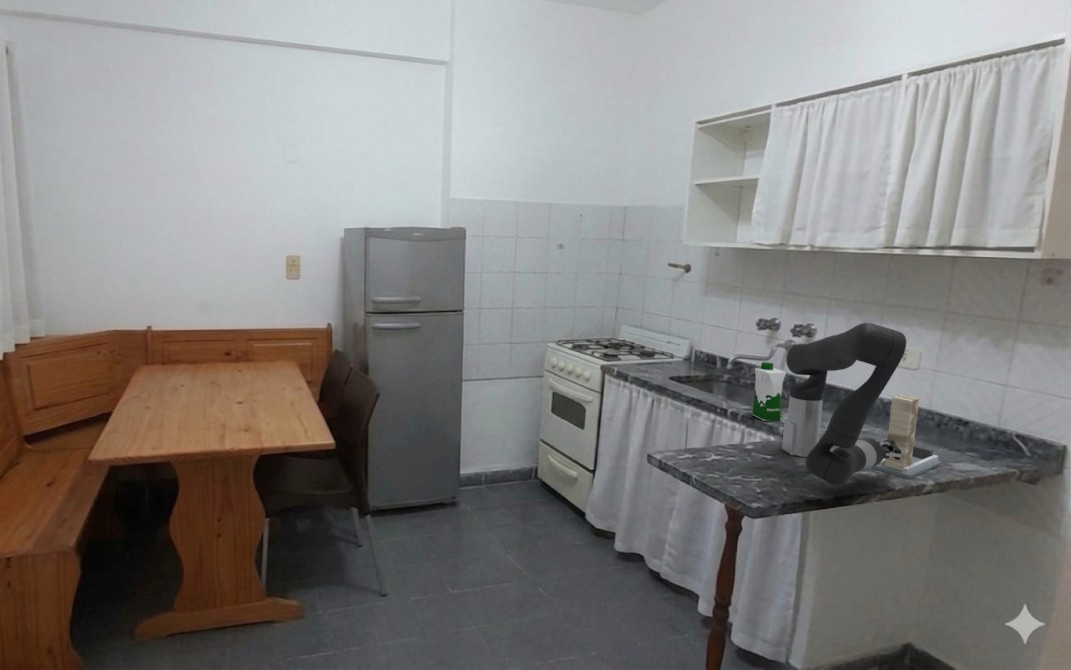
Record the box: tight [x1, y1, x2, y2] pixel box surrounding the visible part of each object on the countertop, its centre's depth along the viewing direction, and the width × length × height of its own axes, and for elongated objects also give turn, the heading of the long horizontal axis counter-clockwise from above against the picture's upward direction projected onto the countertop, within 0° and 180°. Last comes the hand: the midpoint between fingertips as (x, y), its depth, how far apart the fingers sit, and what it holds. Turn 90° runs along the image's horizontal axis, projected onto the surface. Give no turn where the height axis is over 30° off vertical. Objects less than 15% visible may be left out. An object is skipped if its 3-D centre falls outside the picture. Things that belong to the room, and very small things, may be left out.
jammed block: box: [884, 394, 920, 471], centre depth 183 cm, size 5×5×20 cm
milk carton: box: [752, 361, 787, 421], centre depth 235 cm, size 9×9×20 cm
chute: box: [872, 445, 942, 480], centre depth 188 cm, size 21×10×4 cm, turn 128°
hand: (891, 443), depth 180 cm, fingers closed
